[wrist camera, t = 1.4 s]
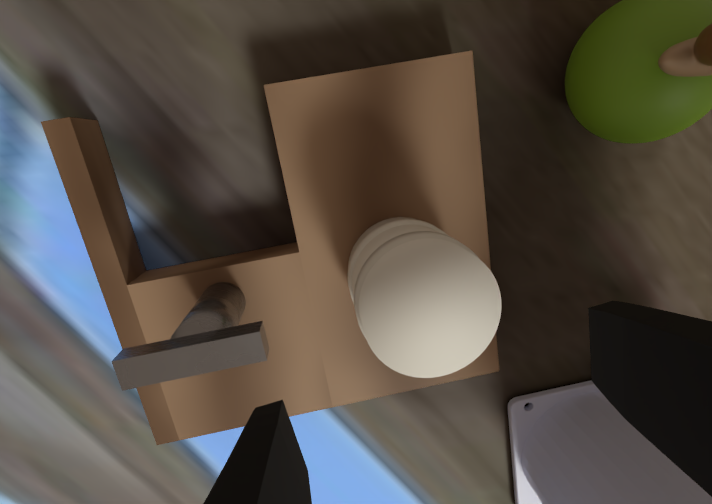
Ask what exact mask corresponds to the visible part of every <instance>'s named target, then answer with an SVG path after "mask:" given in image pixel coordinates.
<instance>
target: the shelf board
mask: <svg viewBox="0 0 712 504" xmlns="http://www.w3.org/2000/svg"><path fill="white" fill-rule="evenodd" d="M264 89H265V94H266V99H267V103H268V108H269V113H270V117H271V122H272V127H273V131H274V136H275V141H276V145H277V150H278V155H279V159H280V164H281V169H282V173H283V178H284V183H285V187H286V192H287V197H288V201H289V206H290V211H291V215H292V220H293V225H294V229H295V234H296V238H297V242H295V243H290V244H284V245H279V246H274V247H268V248H263V249H258V250H253V251H247V252H242V253H237V254H232V255H226V256H221V257H216V258H210V259H205V260H200V261H195V262H189V263H184V264H179V265H174V266H168V267H163V268H158V269H153V270H147V271H146V269H145V265H144V262H143V259H142V256H141V253H140V250H139V247H138V244H137V241H136V238H135V235H134V231H133V228H132V225H131V222H130V219H129V216H128V213H127V210H126V207H125V204H124V201H123V197H122V194H121V191H120V188H119V185H118V182H117V179H116V176H115V173H114V170H113V167H112V163H111V160H110V157H109V154H108V151H107V148H106V145H105V142H104V139H103V136H102V133H101V129H100V126H99V123H98V120H89V119H81V118H73V117H67V118H61V119H55V120H49V121H43V122H41V124H42V126H43V129H44V132H45V135H46V137H47V140H48V143H49V146H50V149H51V151H52V154H53V157H54V160H55V162H56V165H57V168H58V171H59V174H60V176H61V179H62V182H63V185H64V188H65V190H66V193H67V196H68V199H69V201H70V204H71V207H72V210H73V213H74V215H75V218H76V221H77V224H78V226H79V229H80V232H81V235H82V238H83V240H84V243H85V246H86V249H87V252H88V254H89V257H90V260H91V263H92V265H93V268H94V271H95V274H96V277H97V279H98V282H99V285H100V288H101V290H102V293H103V296H104V299H105V302H106V304H107V307H108V310H109V313H110V316H111V318H112V321H113V324H114V327H115V329H116V332H117V335H118V338H119V341H120V343H121V346H122V349H124V348H129V347H134V346H139V345H144V344H149V343H154V342H159V341H164V340H169V339H170V338H171V336H172V334H173V333H174V332H175V330H176V329H177V328H178V326H179V325H180V324H181V322H182V321H183V320H184V318H185V317H186V315H187V314H188V313H189V311H190V310H191V309H192V307H193V306H194V305H195V303H196V302H197V300H198V299H199V298H200V296H201V295H202V294H203V292H204V291H205V290H206V289H207V288H208V287H209V286H210V285H212V284H214V283H218V282H228V283H231V284H233V285H235V286H237V287H238V288H239V289H240V290H241V291H242V292H243V294H244V296H245V300H246V306H245V310H244V312H243V315H242V317H241V319H240V322H239V324H238V326H239V325H244V324H249V323H254V322H259V321H263V324H264V328H265V332H266V336H267V340H268V344H269V353H268V358H267V361H263V362H258V363H253V364H248V365H244V366H239V367H234V368H229V369H224V370H219V371H215V372H210V373H205V374H200V375H195V376H190V377H185V378H181V379H176V380H171V381H166V382H161V383H156V384H152V385H147V386H142V387H137V391H138V393H139V396H140V399H141V402H142V405H143V407H144V410H145V413H146V416H147V418H148V421H149V424H150V427H151V430H152V432H153V435H154V438H155V441H156V444H157V445H160V444H164V443H169V442H173V441H178V440H183V439H187V438H192V437H197V436H201V435H206V434H211V433H215V432H220V431H224V430H229V429H234V428H238V427H243V426H245V425H246V423H247V421H248V419H249V418H250V416H251V414H252V412H253V410H254V409H255V408H256V407H259V406H263V405H266V404H269V403H273V402H276V401H279V400H283V402H284V405H285V407H286V410H287V413H288V416H294V415H299V414H303V413H308V412H313V411H317V410H322V409H326V408H331V407H336V406H340V405H345V404H350V403H354V402H359V401H364V400H368V399H373V398H377V397H382V396H387V395H391V394H396V393H401V392H405V391H410V390H415V389H419V388H424V387H428V386H433V385H438V384H442V383H447V382H452V381H456V380H461V379H466V378H470V377H475V376H479V375H484V374H489V373H493V372H498V371H499V360H498V348H497V336H496V333H495V335H494V337H493V339H492V341H491V342H490V344H489V345H488V346H487V348H486V349H485V350H484V351H483V352H482V354H481V355H480V356H479V357H477V358H476V359H475V360H474V361H473V362H471V363H470V364H469V365H467V366H466V367H464V368H462V369H460V370H458V371H456V372H453V373H451V374H448V375H444V376H440V377H434V378H417V377H411V376H407V375H404V374H401V373H398V372H396V371H394V370H392V369H391V368H389V367H388V366H386V365H385V364H384V363H383V362H382V361H380V360H379V359H378V358H377V356H376V355H375V354H374V353H373V351H372V349H371V348H370V346H369V344H368V342H367V340H366V338H365V337H364V335H363V333H362V331H361V329H360V327H359V324H358V320H357V316H356V312H355V308H354V303H353V300H352V298H351V294H350V290H349V286H348V262H349V257H350V254H351V251H352V249H353V247H354V245H355V243H356V241H357V240H358V239H359V237H360V236H361V235H362V234H363V233H364V232H365V231H366V230H367V229H369V228H370V227H371V226H373V225H374V224H376V223H378V222H380V221H383V220H386V219H389V218H395V217H408V218H414V219H417V220H421V221H425V222H428V223H430V224H432V225H434V226H435V227H437V228H439V229H440V230H442V231H443V232H445V233H446V234H447V235H448V236H450V237H452V238H454V239H456V240H457V241H459V242H460V243H462V244H464V245H465V246H467V247H468V248H469V249H470V250H472V251H473V252H474V253H475V254H476V255H477V256H478V258H479V259H480V260H481V261H482V262H483V263H484V264H485V265H486V266H487V267H488V268H489V269H490V271H491V265H490V253H489V241H488V230H487V218H486V206H485V194H484V182H483V170H482V159H481V147H480V135H479V123H478V111H477V99H476V87H475V76H474V64H473V52H472V51H466V52H460V53H454V54H448V55H442V56H436V57H430V58H424V59H418V60H412V61H406V62H400V63H394V64H388V65H382V66H376V67H369V68H363V69H357V70H351V71H345V72H339V73H333V74H327V75H321V76H315V77H309V78H303V79H297V80H291V81H285V82H279V83H273V84H267V85H264Z"/></svg>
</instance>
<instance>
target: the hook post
mask: <svg viewBox="0 0 712 504" xmlns="http://www.w3.org/2000/svg"><path fill="white" fill-rule="evenodd" d="M245 306H246V300H245V296H244V294H243V292H242V291H241V290H240V289H239V288H238V287H237V286H235V285H233V284H231V283H228V282H218V283H214V284H212V285H210V286H209V287H208V288H207V289H206V290H205V291H204V292H203V294H202V295H201V296H200V298H199V299H198V300H197V302H196V303H195V305H194V306H193V307H192V309H191V310H190V311H189V313H188V314H187V315H186V317H185V318H184V320H183V321H182V322H181V324H180V325H179V326H178V328H177V329H176V330H175V332H174V333H173V334H172V336H171V338H170V339H169V340H164V341H159V342H154V343H149V344H144V345H139V346H134V347H129V348H124V349H123V350H122V351H121V352H120V353H119V354H118V355H117V356H116V357H115V358H114V359H113V361H112V364H113V367H114V369H115V372H116V375H117V377H118V380H119V383H120V385H121V388H122V391H123V390H127V389H132V388H137V387H142V386H147V385H152V384H156V383H161V382H166V381H171V380H176V379H181V378H185V377H190V376H195V375H200V374H205V373H210V372H215V371H219V370H224V369H229V368H234V367H239V366H244V365H248V364H253V363H258V362H263V361H267V358H268V353H269V344H268V340H267V336H266V332H265V328H264V324H263V321H259V322H254V323H249V324H244V325H239V326H238V324H239V322H240V319H241V317H242V315H243V312H244V310H245Z"/></svg>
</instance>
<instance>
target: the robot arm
mask: <svg viewBox="0 0 712 504" xmlns="http://www.w3.org/2000/svg"><path fill="white" fill-rule="evenodd" d="M589 330H590V353H591V375H592V380H591V381H586V382H581V383H577V384H572V385H568V386H563V387H559V388H554V389H550V390H545V391H541V392H536V393H531V394H527V395H522V396H518V397H514V398H512V399H511V400H510V401H509V403H508V419H509V431H510V444H511V456H512V468H513V481H514V493H515V504H712V322H711V321H707V320H703V319H698V318H694V317H690V316H685V315H681V314H677V313H672V312H668V311H663V310H659V309H654V308H650V307H645V306H640V305H635V304H630V303H624V302H617V301H611V302H607V303H604V304H601V305H597V306H594V307H591V308H589ZM526 403H529V404H528V405H527V406H525V407H524V405H525V404H526ZM204 504H312V501H311V493H310V485H309V477H308V470H307V467H306V464H305V461H304V459H303V456H302V453H301V450H300V447H299V444H298V441H297V439H296V436H295V433H294V430H293V427H292V424H291V422H290V419H289V416H288V413H287V410H286V407H285V405H284V402H283V400H279V401H276V402H273V403H269V404H266V405H263V406H259V407H256V408H255V409H254V410H253V412H252V414H251V416H250V418H249V419H248V421H247V423H246V425H245V427H244V429H243V431H242V433H241V435H240V437H239V439H238V441H237V443H236V445H235V447H234V449H233V451H232V453H231V455H230V456H229V458H228V460H227V462H226V464H225V466H224V468H223V469H222V471H221V473H220V475H219V477H218V479H217V480H216V482H215V484H214V486H213V488H212V489H211V491H210V493H209V495H208V497H207V498H206V500H205V502H204Z"/></svg>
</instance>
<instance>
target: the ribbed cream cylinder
mask: <svg viewBox="0 0 712 504" xmlns="http://www.w3.org/2000/svg"><path fill="white" fill-rule="evenodd" d="M348 286H349V290H350V294H351V298H352V300H353V303H354V308H355V312H356V316H357V320H358V324H359V327H360V329H361V331H362V333H363V335H364V337H365V338H366V340H367V342H368V344H369V346H370V348H371V349H372V351H373V353H374V354H375V355H376V356H377V358H378V359H379V360H380V361H382V362H383V363H384V364H385V365H386V366H388V367H389V368H391V369H392V370H394V371H396V372H398V373H401V374H404V375H407V376H411V377H417V378H434V377H440V376H444V375H448V374H451V373H453V372H456V371H458V370H460V369H462V368H464V367H466V366H467V365H469V364H470V363H471V362H473V361H474V360H475V359H476V358H477V357H479V356H480V355H481V354H482V352H483V351H484V350H485V349H486V348H487V346H488V345H489V344H490V342H491V341H492V339H493V337H494V335H495V333H496V330H497V328H498V325H499V321H500V317H501V309H502V307H501V294H500V290H499V286H498V283H497V281H496V279H495V277H494V275H493V274H492V272H491V271H490V269H489V268H488V267H487V266H486V265H485V264H484V263H483V262H482V261H481V260H480V259H479V258H478V256H477V255H476V254H475V253H474V252H473V251H472V250H470V249H469V248H468V247H467V246H465V245H464V244H462V243H460V242H459V241H457V240H456V239H454V238H452V237H450V236H448V235H447V234H446V233H445V232H443V231H442V230H440V229H439V228H437V227H435V226H434V225H432V224H430V223H428V222H425V221H421V220H417V219H414V218H408V217H395V218H389V219H386V220H383V221H380V222H378V223H376V224H374V225H373V226H371V227H370V228H369V229H367V230H366V231H365V232H364V233H363V234H362V235H361V236H360V237H359V239H358V240H357V241H356V243H355V245H354V247H353V249H352V251H351V254H350V257H349V262H348Z"/></svg>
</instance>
